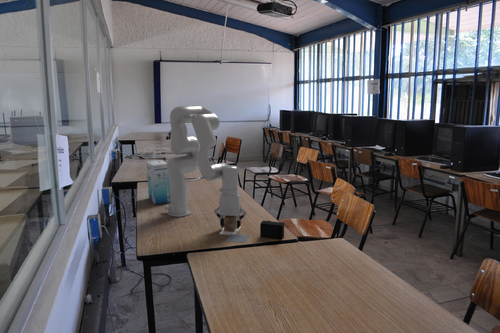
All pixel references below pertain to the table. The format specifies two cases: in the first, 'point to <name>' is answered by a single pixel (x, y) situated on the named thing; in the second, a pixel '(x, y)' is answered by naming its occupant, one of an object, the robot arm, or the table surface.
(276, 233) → the digital camera
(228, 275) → the table surface
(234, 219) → the walnut block
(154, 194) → the toothbrush box
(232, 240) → the rubber mat
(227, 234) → the card
